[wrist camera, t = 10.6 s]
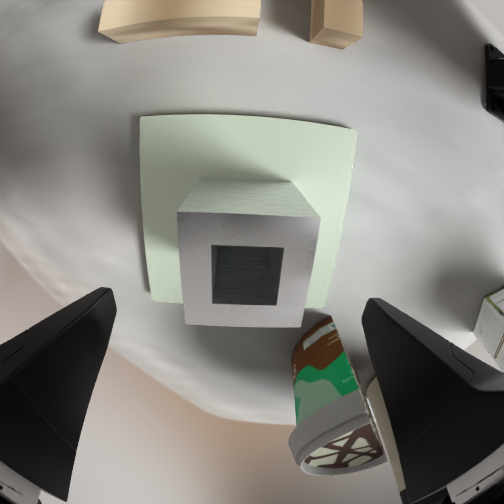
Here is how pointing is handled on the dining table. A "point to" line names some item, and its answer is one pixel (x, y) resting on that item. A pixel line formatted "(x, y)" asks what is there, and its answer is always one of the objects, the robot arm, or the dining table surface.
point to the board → (241, 167)
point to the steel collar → (246, 252)
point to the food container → (330, 408)
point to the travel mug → (394, 444)
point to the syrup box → (492, 326)
